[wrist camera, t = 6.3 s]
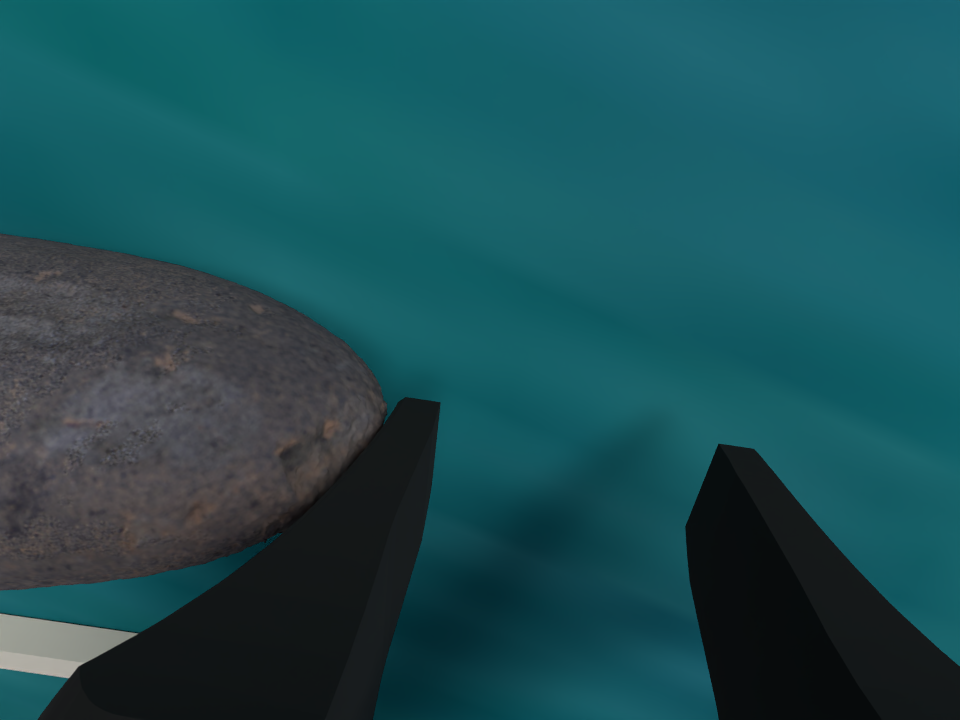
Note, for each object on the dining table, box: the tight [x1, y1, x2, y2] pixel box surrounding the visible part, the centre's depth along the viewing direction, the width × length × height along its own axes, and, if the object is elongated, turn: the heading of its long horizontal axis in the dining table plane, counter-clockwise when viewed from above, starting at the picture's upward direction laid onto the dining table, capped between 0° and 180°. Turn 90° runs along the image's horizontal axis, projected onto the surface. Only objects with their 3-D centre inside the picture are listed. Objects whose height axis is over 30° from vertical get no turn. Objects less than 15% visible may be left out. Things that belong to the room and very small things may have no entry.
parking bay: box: [0, 614, 138, 678], centre depth 15 cm, size 13×28×2 cm, turn 173°
